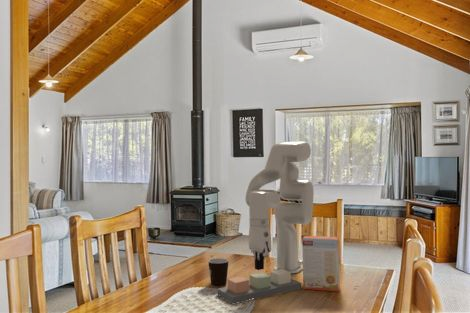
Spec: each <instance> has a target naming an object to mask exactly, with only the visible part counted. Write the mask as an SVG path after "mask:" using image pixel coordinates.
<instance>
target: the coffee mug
mask: <svg viewBox="0 0 470 313" xmlns="http://www.w3.org/2000/svg"><path fill="white" fill-rule="evenodd" d="M207 262H208V263H207V264H208V269H209V270H208V271H209V277H210V284H211V286H212V287H217V288H222V287H226V286H227V284H228V270H229V259H227V258H224V257H223V258H221V257H217V258H215V257H214V258H210V259H209V260H208V261H207Z"/></svg>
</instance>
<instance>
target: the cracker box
mask: <svg viewBox="0 0 470 313" xmlns="http://www.w3.org/2000/svg"><path fill="white" fill-rule="evenodd" d="M301 244H302V248H301V249H302V260H303V264H302V284H303V285H302V288H303V290H314V291H325V292H326V291H327V292H334V293H338V292H339V291H340V245H339V244H340V243H339V236H326V235H325V236H323V235H322V236H321V235H304V236H303V237H302V243H301Z"/></svg>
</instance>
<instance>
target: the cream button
mask: <svg viewBox="0 0 470 313" xmlns="http://www.w3.org/2000/svg"><path fill="white" fill-rule="evenodd" d="M269 276H270V277H271V282H273V283H275V284H278V285H281V284H286V283H290V282H291V279H292V274H291V272H289V271H286V270H283V269H279V270H274V269H273V270H270V272H269Z"/></svg>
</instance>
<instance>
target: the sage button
mask: <svg viewBox="0 0 470 313" xmlns="http://www.w3.org/2000/svg"><path fill="white" fill-rule="evenodd" d="M249 282H250V286H252V287H254V288H256V289H261V288H266V287H271V277H270V274H269V275H268V274H266V273H265V272H260V273H259V272H258V273H252V274H249Z"/></svg>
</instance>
